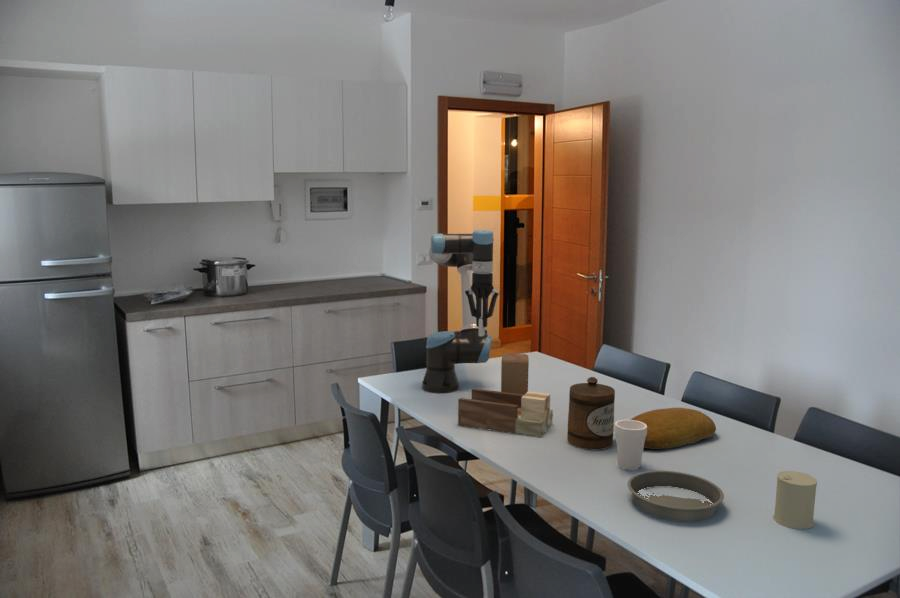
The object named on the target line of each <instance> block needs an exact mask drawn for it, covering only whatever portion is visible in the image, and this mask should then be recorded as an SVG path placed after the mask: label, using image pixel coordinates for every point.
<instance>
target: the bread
mask: <svg viewBox="0 0 900 598" xmlns="http://www.w3.org/2000/svg"><path fill="white" fill-rule="evenodd" d="M629 420H636V421H640V422H643V423H645V424H646V425H647V435H646V437H645V443H644V448H643V449H651V450H659V449H672V448H677V447H678V448H679V447H681V446H685V445H691V444H695V443H698V442H700V441H702V440H704V439H705V440H706V439H709V438H711V437H712V436H713V435H714V434H715V433H716V431H717V428H716V427H717V426H716V424H715V422H714V420H713V419H712V418H711V417H710V416H708V415H707V414H705V413H704V412H701V410H700V411H699V410H697V409H693V408H686V407H668V408H658V409H651V410H649V411H645V412H643V413H641V414H638V415H635V416H633V417H632V418H631V419H629Z"/></svg>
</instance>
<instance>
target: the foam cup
mask: <svg viewBox="0 0 900 598" xmlns="http://www.w3.org/2000/svg"><path fill="white" fill-rule="evenodd" d="M614 433H615V440H616V451H617V464H618V465H619V466H620V467H622V468H621V469H623V468H624V469H623V470H626V469H628V470H627V471H635V469H636V470H639V469H640V468H639V467H641V464H642V463H641V462H642V458H643V453H644V449H645V448H644V443H645V437H646V435H647V425H646V424H645V423H643V422H640V421H636V420H630V419H621V420H620V419H619V420H617V421H614ZM619 466H618V467H619ZM620 467H619V468H620ZM638 468H639V469H638Z"/></svg>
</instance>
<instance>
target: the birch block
mask: <svg viewBox="0 0 900 598" xmlns="http://www.w3.org/2000/svg"><path fill="white" fill-rule="evenodd" d="M550 410H551V393H545V392H537V391H529V390H528V392H527V393H526V394H525V395H524V396H522V397H521V417H524V418H531V419H538V420H544V419H545V418H546V417H547V416H548V415H549V414H550Z"/></svg>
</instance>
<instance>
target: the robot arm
mask: <svg viewBox="0 0 900 598" xmlns="http://www.w3.org/2000/svg"><path fill="white" fill-rule="evenodd" d="M428 254H429V257H430V259H431V261H432V262H434V263H436V264H437V265H440V266H444V267H447V268H448V267H449V268H456V271H457V273H458V274H460V284H461V285H460V286H461V313H462V317H461V318H462V328H461V329H460V330H459V331H458V332H459V334H458V335H457V334H456V333H455V332H454V331H453V330H452V331H451V330H450V331H449V330H445V331H444V330H443V331H437V332H433V333H431V334H429V335H428V336H427V337H426V338H427V339H426V345H425V349H426V371H425V374H424V377H423V378H422V382H421V383H422V384H421V385H422V390H424V391H426V392H428V393H429V392H430V393H437V394H441V393H443V394H444V393H451V392H455V391H457V390H459V387H460V385H459V384H460V383H459V380H458V377H457V374H456V369H455V365H456V364H486V363H487V362H488V361H489V359H490V355H491V350H492V349H491V348H492V335H490V334H488V330H487V329H486V328H487V327H488V319H490V318H491V317H493V314H494V310H495V306H496V303H497V299H498V297H499V295H500V292H499V291H497V290H495V288H494V286H493V285H494V284H493V283H494V279H493V277H494V274H493V273H492V272H493V271H494V232H493V231H492V230H491V229H490V230H489V229H474V230H473V232H472V233H433V234H431V236H430V247H429V249H428ZM490 295H491V296H492V297H491V300H490V303H489V296H490Z"/></svg>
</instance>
